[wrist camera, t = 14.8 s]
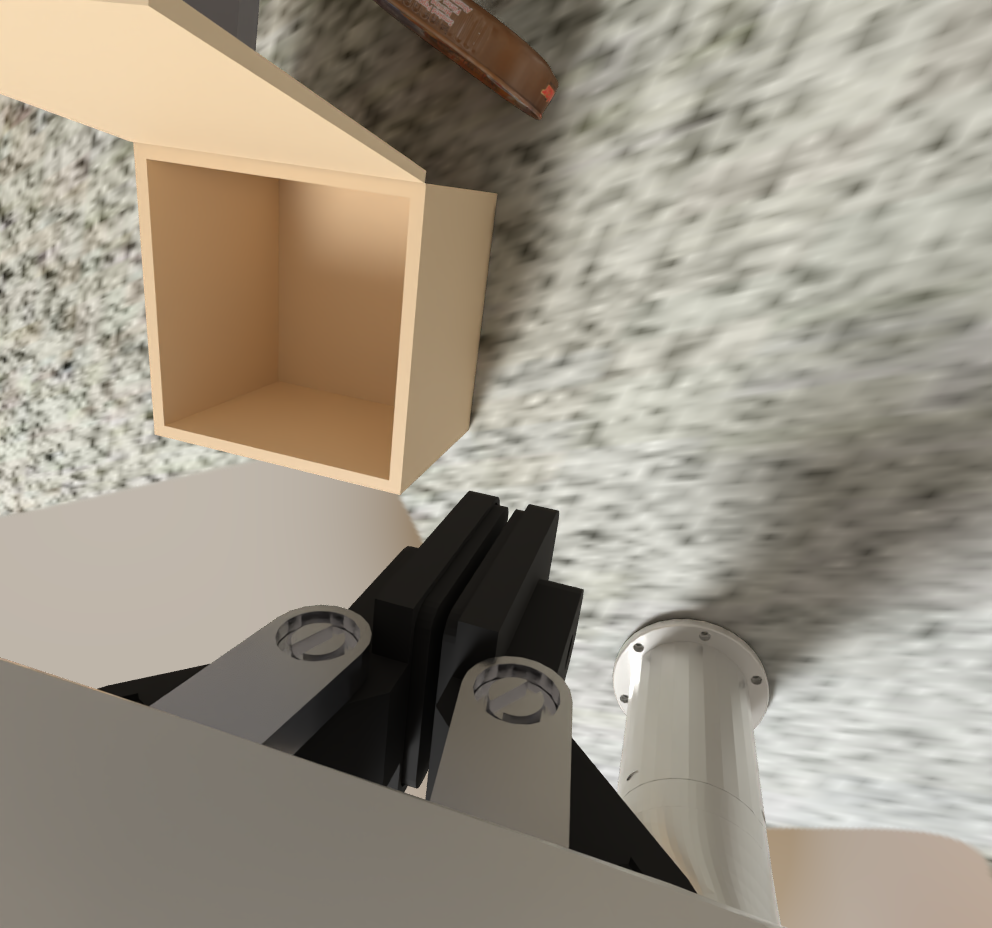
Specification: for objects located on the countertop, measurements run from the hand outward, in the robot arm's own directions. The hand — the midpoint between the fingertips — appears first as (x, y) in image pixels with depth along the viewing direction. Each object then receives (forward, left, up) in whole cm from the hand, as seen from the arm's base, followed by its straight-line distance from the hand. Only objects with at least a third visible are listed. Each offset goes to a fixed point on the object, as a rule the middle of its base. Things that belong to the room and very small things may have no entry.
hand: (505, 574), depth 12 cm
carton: (-3, +21, -38) cm, 44 cm away
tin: (+15, +15, -39) cm, 44 cm away
